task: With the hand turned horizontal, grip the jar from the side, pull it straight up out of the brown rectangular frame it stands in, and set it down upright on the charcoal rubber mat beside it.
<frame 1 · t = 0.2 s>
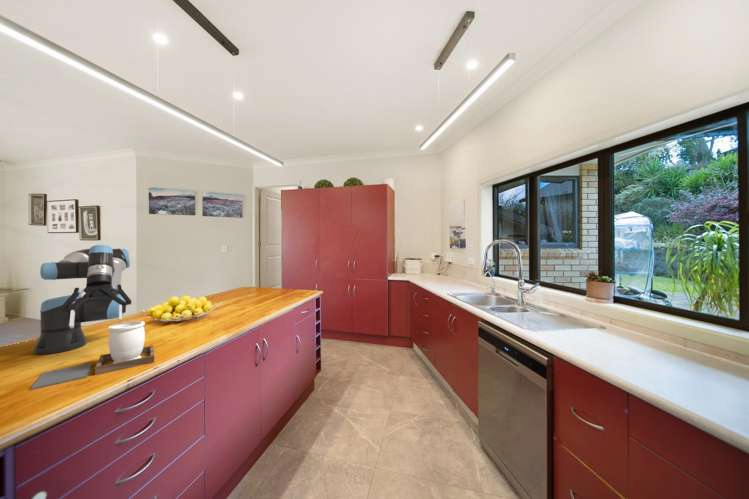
hand: (97, 323, 105), 15 cm above the worktop, tool tilted 35°, fingers open, 13 cm apart
mat: (64, 375, 92), on the worktop
brown rectangular frame: (127, 361, 103), on the worktop
jar: (127, 362, 103), resting in brown rectangular frame
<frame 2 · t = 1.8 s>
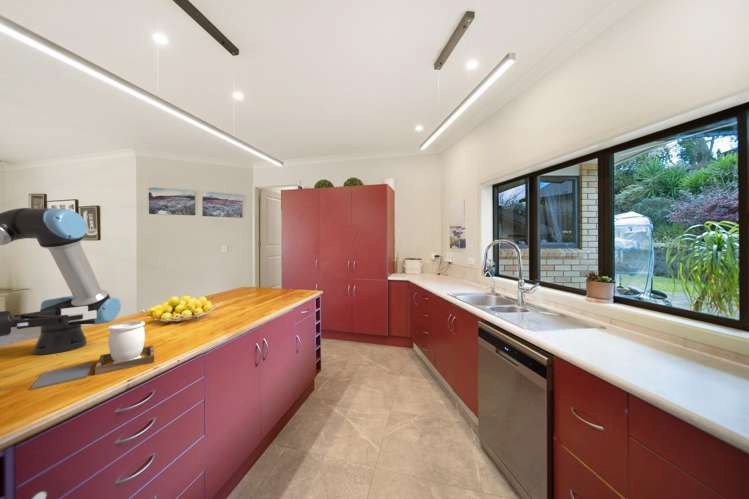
hand: (92, 311, 95), 22 cm above the worktop, tool horizontal, fingers open, 13 cm apart
nothing on the worktop moved.
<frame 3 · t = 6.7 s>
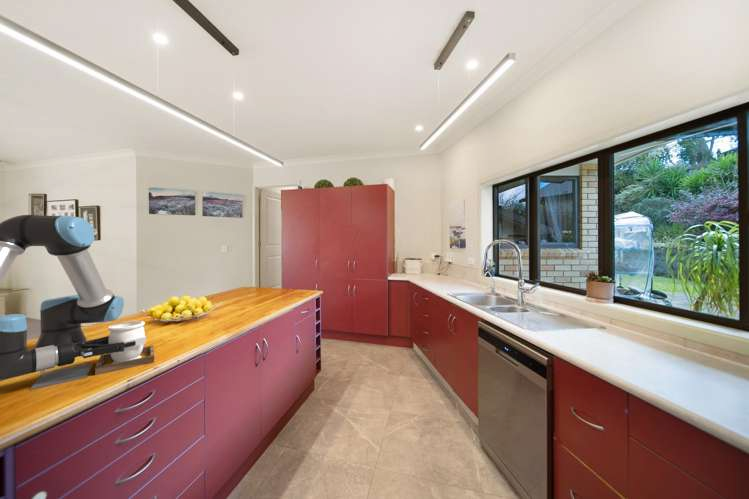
hand: (141, 337, 106), 9 cm above the worktop, tool horizontal, fingers closed on jar, 10 cm apart
jar: (127, 362, 103), resting in brown rectangular frame, touching gripper
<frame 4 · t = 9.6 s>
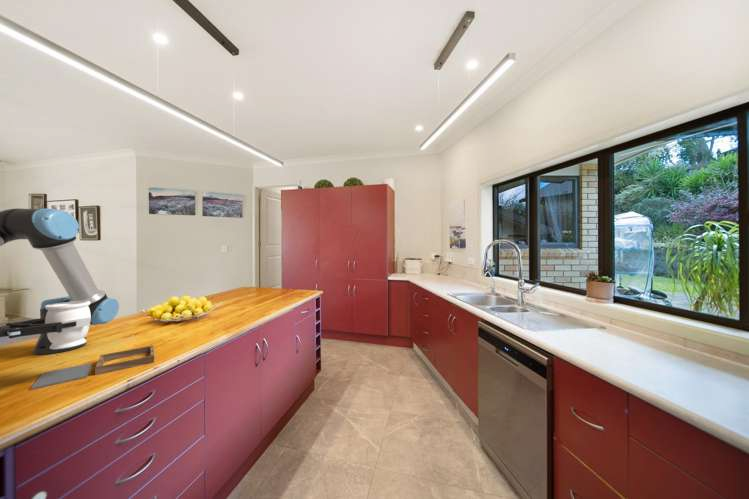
hand: (86, 318, 96), 19 cm above the worktop, tool horizontal, fingers closed on jar, 10 cm apart
jar: (68, 345, 92), point 10 cm above the worktop, touching gripper
when the fingers open (10 cm above the worktop, at t = 12.7 s): jar drops 1 cm, resting on mat.
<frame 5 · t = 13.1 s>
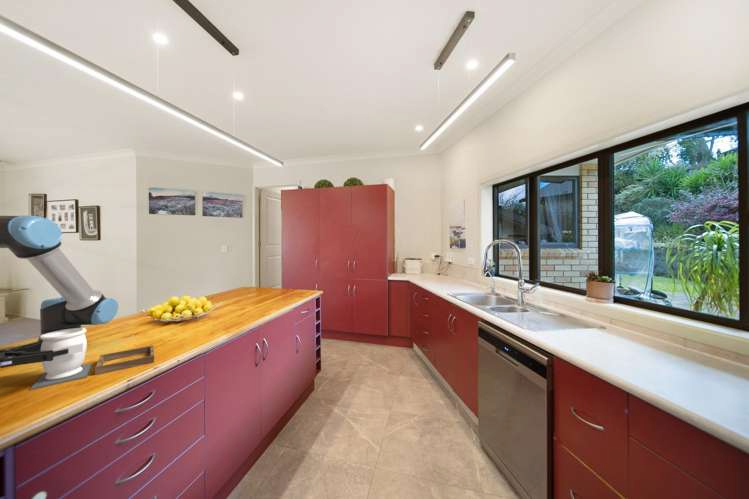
hand: (78, 343, 94), 10 cm above the worktop, tool horizontal, fingers open, 13 cm apart
jar: (64, 375, 91), resting on mat
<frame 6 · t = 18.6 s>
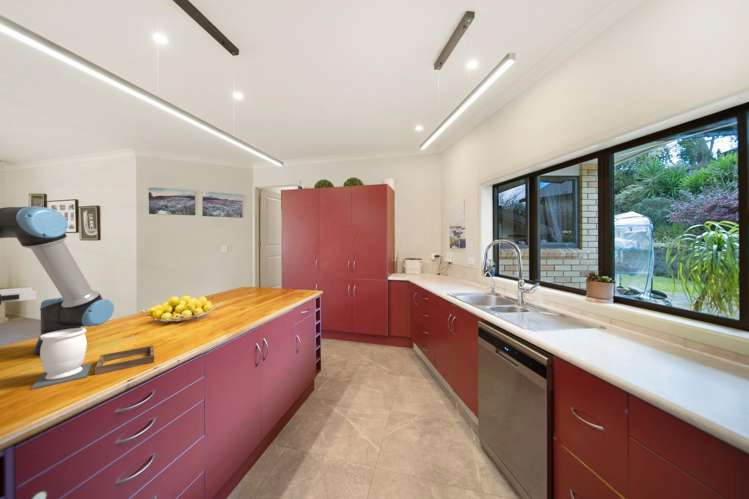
hand: (34, 292, 88), 30 cm above the worktop, tool horizontal, fingers open, 13 cm apart
nothing on the worktop moved.
at the end: jar inside the target area on the mat (0.2 cm from its centre), point 0.3 cm above the mat's base; jar tilted 0°; the gripper is holding nothing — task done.
